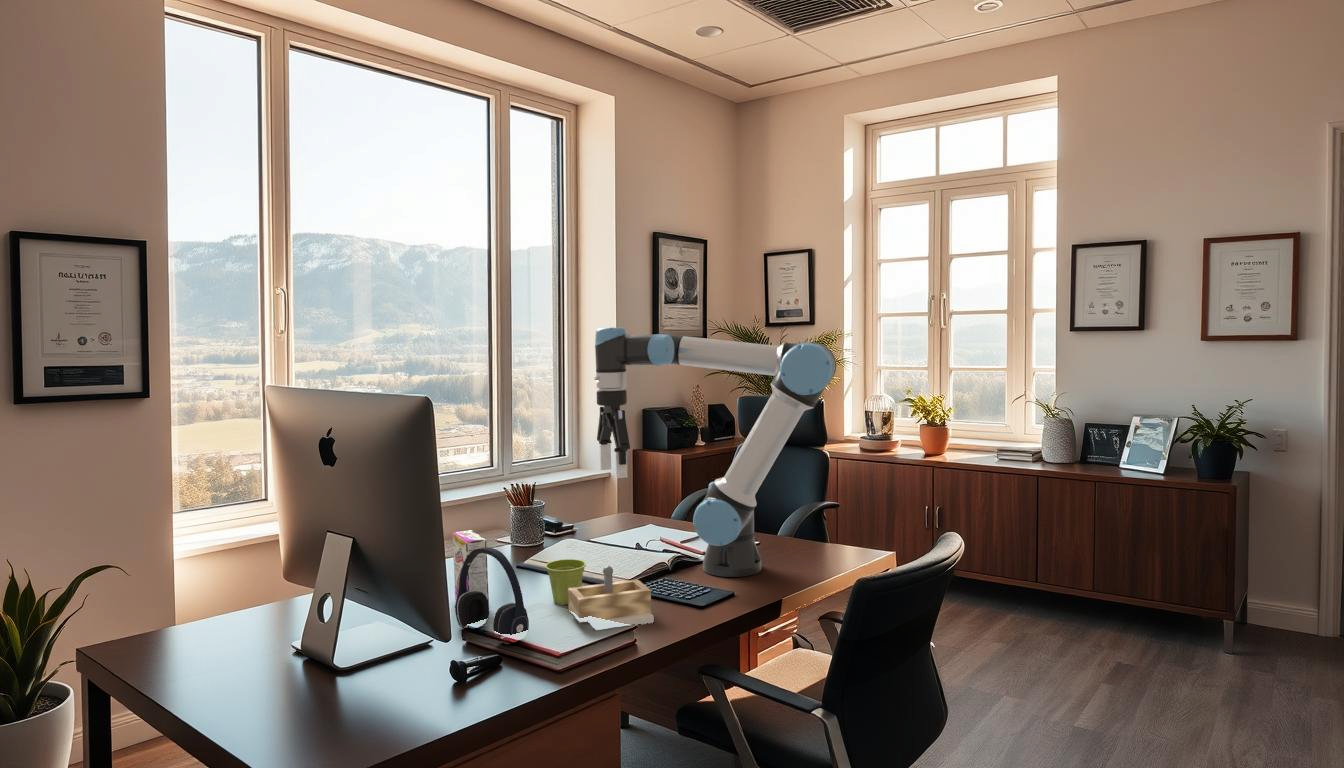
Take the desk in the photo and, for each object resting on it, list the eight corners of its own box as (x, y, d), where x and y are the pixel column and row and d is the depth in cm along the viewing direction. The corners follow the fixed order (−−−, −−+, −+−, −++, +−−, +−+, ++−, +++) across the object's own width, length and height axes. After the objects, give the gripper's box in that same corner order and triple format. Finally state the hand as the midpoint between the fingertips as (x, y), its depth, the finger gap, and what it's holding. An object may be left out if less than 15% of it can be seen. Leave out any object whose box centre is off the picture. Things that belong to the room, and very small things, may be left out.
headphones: (449, 629, 186) (446, 544, 185) (477, 621, 191) (474, 538, 190) (507, 651, 173) (504, 560, 171) (534, 642, 178) (532, 553, 177)
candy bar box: (453, 601, 206) (451, 532, 205) (474, 597, 208) (472, 529, 207) (468, 613, 196) (465, 541, 195) (490, 609, 199) (487, 538, 198)
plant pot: (580, 608, 198) (579, 570, 198) (540, 606, 200) (539, 569, 200) (592, 595, 208) (591, 559, 207) (554, 594, 209) (553, 558, 209)
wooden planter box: (637, 601, 198) (637, 579, 198) (651, 612, 190) (650, 590, 189) (568, 610, 192) (568, 588, 192) (579, 623, 184) (578, 599, 184)
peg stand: (634, 605, 200) (633, 555, 199) (653, 622, 188) (652, 569, 187) (579, 612, 195) (577, 561, 195) (595, 631, 183) (593, 576, 182)
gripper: (583, 387, 229) (586, 467, 230) (611, 393, 206) (613, 482, 207) (611, 385, 232) (613, 465, 233) (641, 391, 208) (643, 480, 210)
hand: (613, 473), depth 220 cm, fingers open, 13 cm apart
